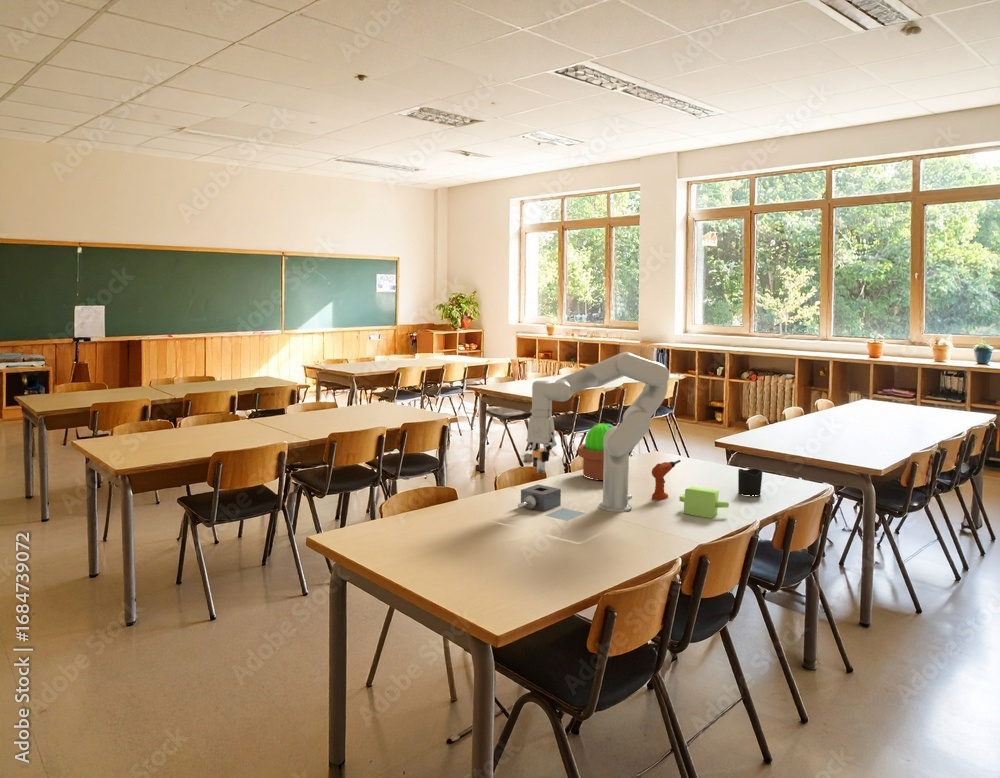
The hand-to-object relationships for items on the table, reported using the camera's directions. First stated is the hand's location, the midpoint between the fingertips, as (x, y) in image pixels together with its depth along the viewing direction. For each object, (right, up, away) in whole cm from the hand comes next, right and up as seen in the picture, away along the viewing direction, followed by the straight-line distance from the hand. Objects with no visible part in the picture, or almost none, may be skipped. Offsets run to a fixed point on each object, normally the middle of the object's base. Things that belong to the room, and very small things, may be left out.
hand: (541, 460), depth 283 cm
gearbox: (+61, -20, -5) cm, 64 cm away
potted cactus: (+31, -13, +51) cm, 60 cm away
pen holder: (+88, -16, +22) cm, 92 cm away
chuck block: (-3, -19, -1) cm, 19 cm away
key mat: (+9, -20, -8) cm, 23 cm away
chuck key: (0, -5, +1) cm, 5 cm away
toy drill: (+52, -17, +19) cm, 58 cm away
